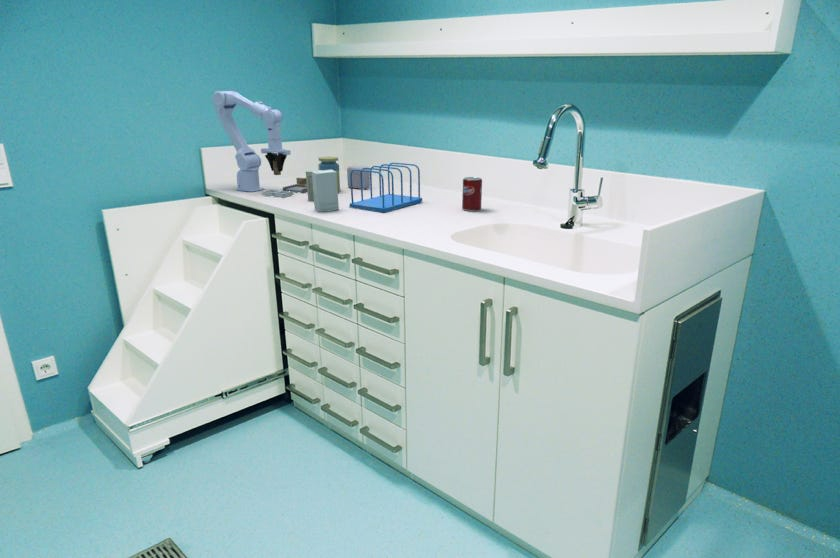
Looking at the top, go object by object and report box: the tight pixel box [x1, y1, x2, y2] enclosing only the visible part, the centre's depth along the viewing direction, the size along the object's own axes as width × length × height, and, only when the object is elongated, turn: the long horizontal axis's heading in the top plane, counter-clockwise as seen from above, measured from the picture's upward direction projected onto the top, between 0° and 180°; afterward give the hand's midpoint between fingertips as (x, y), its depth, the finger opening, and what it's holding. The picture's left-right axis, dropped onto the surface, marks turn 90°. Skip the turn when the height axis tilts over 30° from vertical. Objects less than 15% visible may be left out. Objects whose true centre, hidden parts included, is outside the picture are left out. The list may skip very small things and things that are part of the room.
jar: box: [317, 156, 341, 193], centre depth 257 cm, size 9×9×15 cm
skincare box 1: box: [305, 169, 323, 202], centre depth 240 cm, size 6×4×12 cm
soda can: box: [461, 176, 483, 212], centre depth 223 cm, size 7×7×12 cm
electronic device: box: [346, 164, 370, 190], centre depth 267 cm, size 10×5×10 cm, turn 58°
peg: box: [273, 160, 282, 176], centre depth 255 cm, size 3×3×6 cm
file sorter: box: [349, 162, 423, 213], centre depth 231 cm, size 25×17×15 cm
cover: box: [295, 177, 307, 187], centre depth 269 cm, size 9×9×3 cm
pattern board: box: [282, 183, 308, 194], centre depth 266 cm, size 11×19×2 cm, turn 153°
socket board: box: [261, 189, 295, 199], centre depth 251 cm, size 12×7×2 cm, turn 63°
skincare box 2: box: [312, 170, 340, 213], centre depth 221 cm, size 8×6×15 cm
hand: (277, 170), depth 255 cm, fingers closed on peg, 3 cm apart
